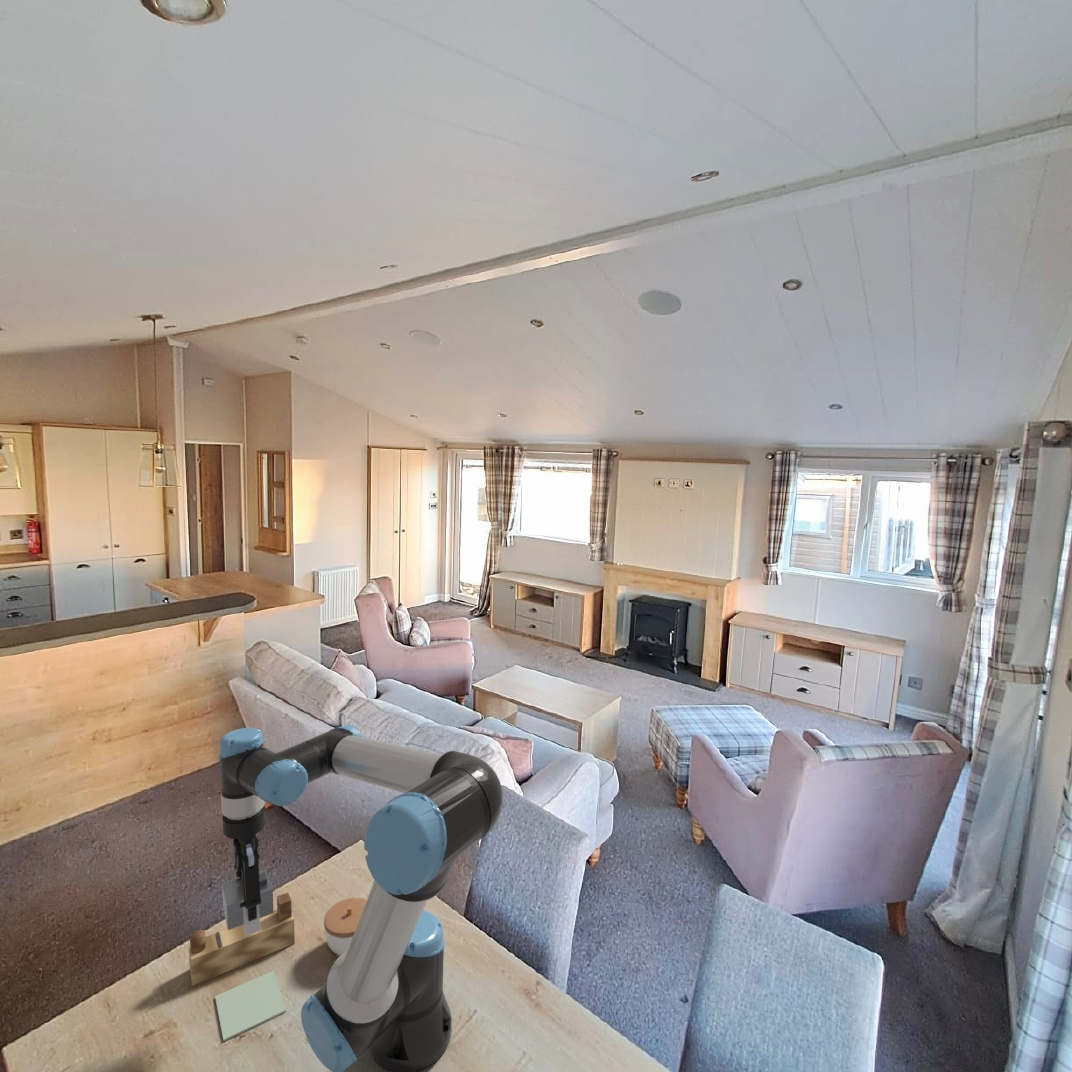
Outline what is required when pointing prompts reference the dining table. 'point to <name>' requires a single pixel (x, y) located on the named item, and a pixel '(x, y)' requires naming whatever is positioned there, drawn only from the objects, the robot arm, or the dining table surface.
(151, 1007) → the dining table surface
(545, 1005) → the dining table surface
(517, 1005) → the dining table surface
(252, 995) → the felt pad
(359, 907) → the lidded jar
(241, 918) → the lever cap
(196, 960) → the plane body
